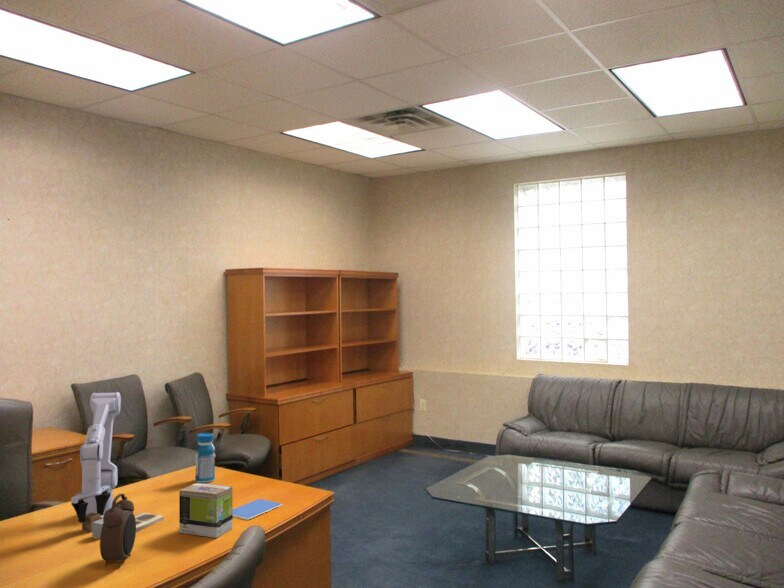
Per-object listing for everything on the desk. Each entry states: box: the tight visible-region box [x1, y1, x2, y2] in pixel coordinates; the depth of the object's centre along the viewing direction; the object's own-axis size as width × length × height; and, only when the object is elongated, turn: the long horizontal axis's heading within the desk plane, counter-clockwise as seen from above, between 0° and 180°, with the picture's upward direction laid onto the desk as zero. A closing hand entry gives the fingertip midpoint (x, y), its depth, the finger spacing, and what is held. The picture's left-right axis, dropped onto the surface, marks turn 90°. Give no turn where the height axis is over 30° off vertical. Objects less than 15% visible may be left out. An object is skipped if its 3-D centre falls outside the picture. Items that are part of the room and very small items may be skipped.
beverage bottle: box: [194, 432, 216, 484], centre depth 270 cm, size 8×8×20 cm
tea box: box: [178, 482, 234, 539], centre depth 212 cm, size 15×10×15 cm, turn 71°
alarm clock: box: [99, 493, 137, 569], centre depth 188 cm, size 15×7×20 cm, turn 4°
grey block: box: [91, 518, 103, 539], centre depth 208 cm, size 4×4×5 cm
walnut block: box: [81, 513, 101, 533], centre depth 213 cm, size 4×4×5 cm
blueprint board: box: [134, 512, 165, 533], centre depth 218 cm, size 10×14×1 cm
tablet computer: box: [232, 498, 284, 521], centre depth 234 cm, size 19×13×1 cm, turn 150°
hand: (91, 518), depth 213 cm, fingers open, 7 cm apart
